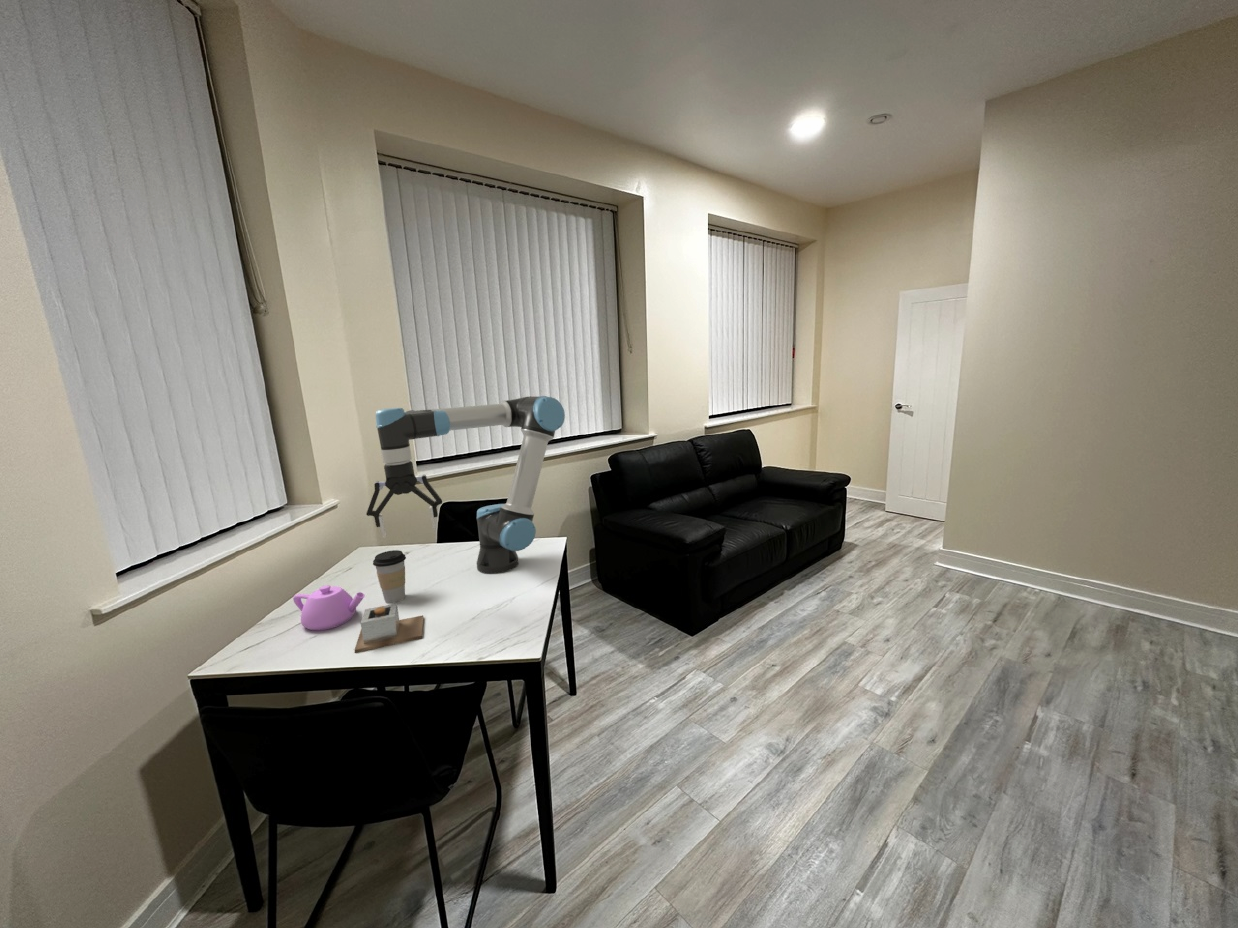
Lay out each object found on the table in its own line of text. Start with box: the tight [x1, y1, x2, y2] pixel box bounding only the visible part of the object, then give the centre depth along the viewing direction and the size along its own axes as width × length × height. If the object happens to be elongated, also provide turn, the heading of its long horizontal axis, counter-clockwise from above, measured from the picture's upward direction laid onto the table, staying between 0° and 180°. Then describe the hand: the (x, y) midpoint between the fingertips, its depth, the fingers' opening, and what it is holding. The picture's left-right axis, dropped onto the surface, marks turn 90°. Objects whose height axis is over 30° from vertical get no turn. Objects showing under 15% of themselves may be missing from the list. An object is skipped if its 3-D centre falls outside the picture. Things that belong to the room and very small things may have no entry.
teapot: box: [292, 584, 365, 631], centre depth 134 cm, size 14×20×11 cm
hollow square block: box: [360, 603, 400, 644], centre depth 125 cm, size 8×8×6 cm
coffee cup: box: [372, 549, 407, 604], centre depth 146 cm, size 9×9×15 cm
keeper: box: [354, 606, 424, 653], centre depth 125 cm, size 16×12×8 cm
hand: (409, 532), depth 136 cm, fingers open, 13 cm apart
